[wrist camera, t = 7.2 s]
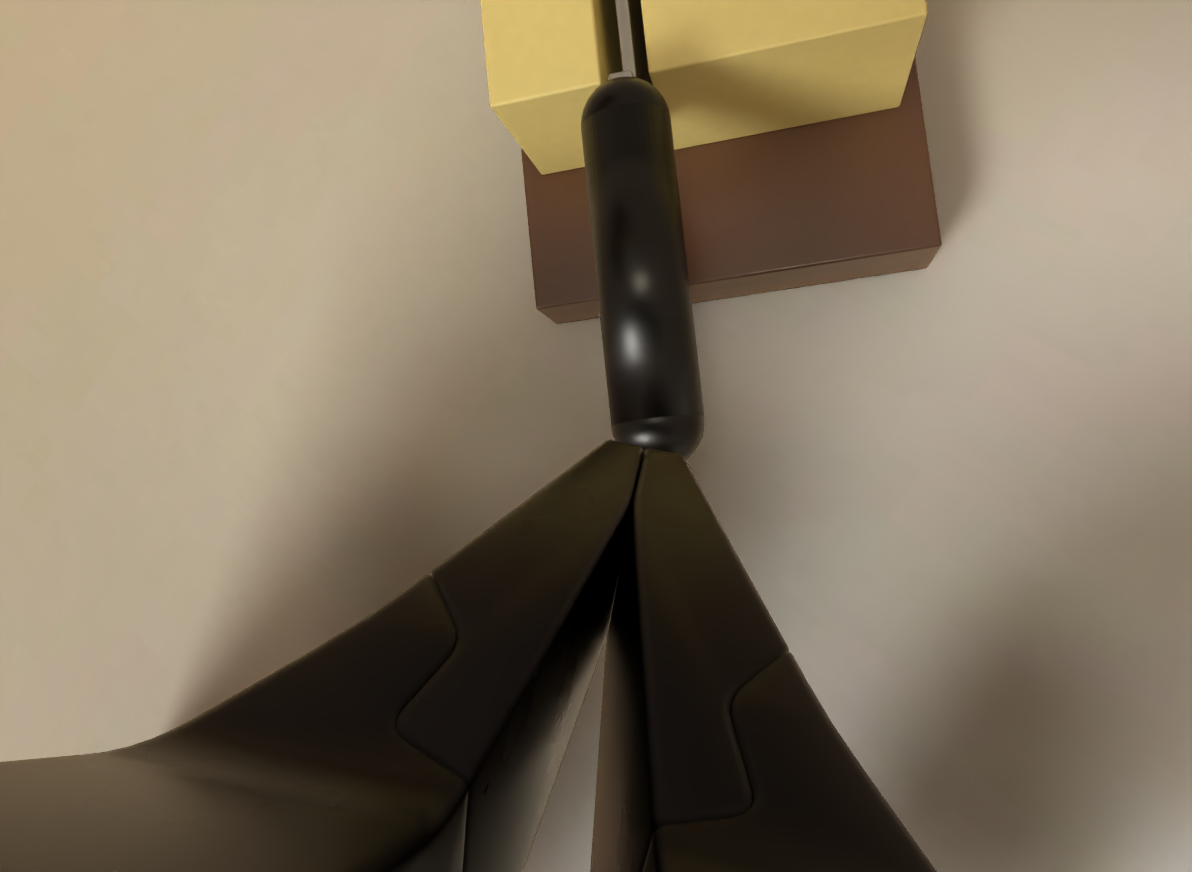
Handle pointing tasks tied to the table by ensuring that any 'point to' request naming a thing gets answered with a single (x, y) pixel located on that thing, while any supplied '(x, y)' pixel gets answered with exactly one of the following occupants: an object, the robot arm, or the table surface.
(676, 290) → the knife
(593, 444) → the table surface
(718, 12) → the butter
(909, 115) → the board
